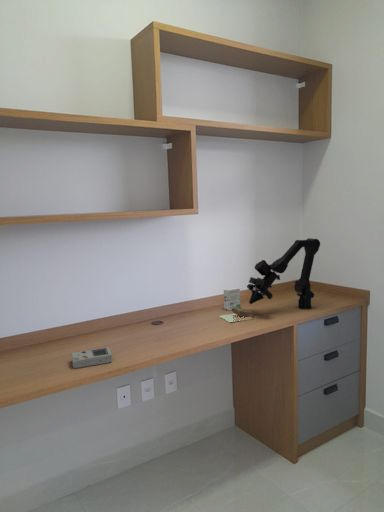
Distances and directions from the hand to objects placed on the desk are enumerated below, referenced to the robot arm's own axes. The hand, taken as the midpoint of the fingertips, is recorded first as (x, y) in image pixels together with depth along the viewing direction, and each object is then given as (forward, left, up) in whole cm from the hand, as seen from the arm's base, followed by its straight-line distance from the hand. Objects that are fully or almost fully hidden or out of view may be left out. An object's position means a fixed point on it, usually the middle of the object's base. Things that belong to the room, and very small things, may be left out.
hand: (249, 303), depth 203 cm
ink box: (+13, -13, -7) cm, 20 cm away
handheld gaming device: (+47, +76, -7) cm, 90 cm away
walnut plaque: (0, 0, -6) cm, 6 cm away
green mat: (+6, +5, -7) cm, 11 cm away
